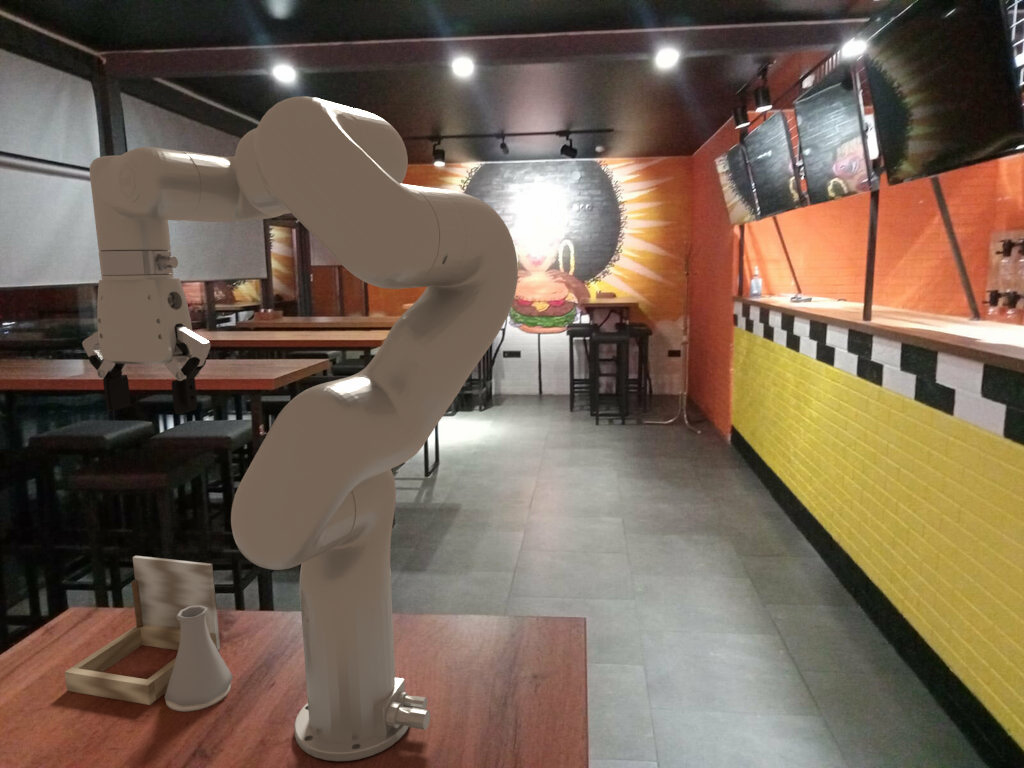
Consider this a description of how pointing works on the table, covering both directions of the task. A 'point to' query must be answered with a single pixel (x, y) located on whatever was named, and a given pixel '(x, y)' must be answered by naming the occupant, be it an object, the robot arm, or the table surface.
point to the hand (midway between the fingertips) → (152, 410)
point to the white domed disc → (196, 706)
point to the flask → (196, 662)
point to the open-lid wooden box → (149, 628)
